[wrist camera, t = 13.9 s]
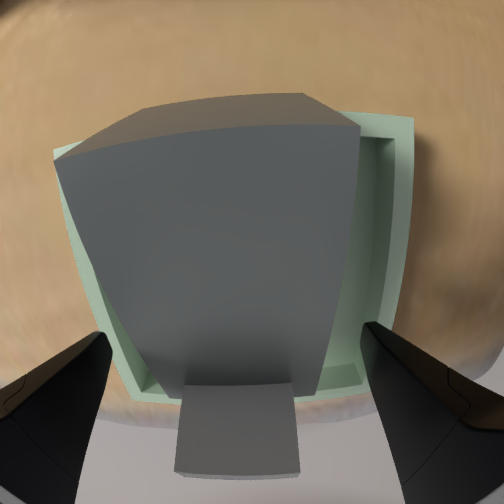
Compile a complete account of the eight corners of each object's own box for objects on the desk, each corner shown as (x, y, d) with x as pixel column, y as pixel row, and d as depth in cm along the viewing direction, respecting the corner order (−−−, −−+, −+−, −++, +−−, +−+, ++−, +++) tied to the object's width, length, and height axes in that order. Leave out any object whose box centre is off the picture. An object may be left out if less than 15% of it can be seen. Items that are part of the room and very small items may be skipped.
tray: (384, 119, 13) (413, 117, 10) (361, 361, 19) (373, 391, 16) (84, 144, 13) (53, 149, 10) (143, 370, 19) (132, 400, 16)
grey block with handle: (302, 93, 9) (496, 237, 2) (298, 293, 15) (324, 474, 8) (143, 108, 9) (-64, 269, 2) (187, 298, 15) (159, 474, 8)
